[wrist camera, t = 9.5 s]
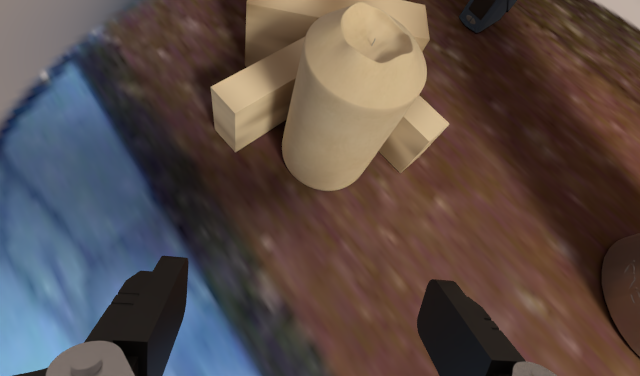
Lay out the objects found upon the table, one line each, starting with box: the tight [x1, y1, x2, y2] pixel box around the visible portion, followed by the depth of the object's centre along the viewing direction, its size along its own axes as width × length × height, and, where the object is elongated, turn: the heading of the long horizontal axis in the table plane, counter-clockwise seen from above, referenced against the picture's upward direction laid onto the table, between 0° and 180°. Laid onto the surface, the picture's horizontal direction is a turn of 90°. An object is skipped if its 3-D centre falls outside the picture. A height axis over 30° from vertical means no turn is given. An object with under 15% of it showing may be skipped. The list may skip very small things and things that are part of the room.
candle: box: [282, 2, 427, 191], centre depth 19 cm, size 6×6×10 cm
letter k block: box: [211, 0, 449, 173], centre depth 22 cm, size 13×10×5 cm
